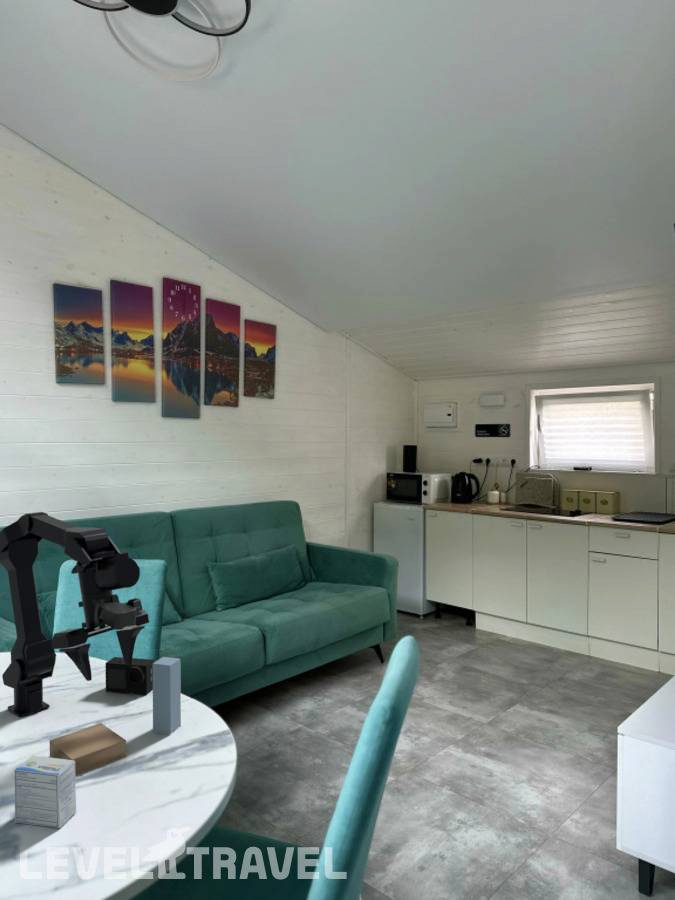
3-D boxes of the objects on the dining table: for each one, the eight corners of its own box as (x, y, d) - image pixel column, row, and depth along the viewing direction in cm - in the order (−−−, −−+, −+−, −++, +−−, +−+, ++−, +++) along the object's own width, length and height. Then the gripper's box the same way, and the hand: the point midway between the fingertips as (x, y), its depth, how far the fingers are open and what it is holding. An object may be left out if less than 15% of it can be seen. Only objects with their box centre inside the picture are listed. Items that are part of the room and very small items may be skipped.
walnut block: (49, 756, 118) (49, 740, 118) (101, 737, 126) (101, 723, 126) (72, 776, 112) (72, 759, 111) (125, 755, 119) (125, 740, 119)
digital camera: (102, 694, 147) (101, 664, 147) (114, 685, 152) (114, 656, 152) (144, 697, 145) (143, 667, 145) (154, 688, 150) (154, 659, 150)
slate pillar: (152, 732, 128) (152, 663, 128) (163, 723, 132) (163, 656, 132) (170, 734, 127) (170, 665, 127) (180, 726, 131) (180, 658, 131)
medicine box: (77, 813, 101) (76, 759, 101) (59, 830, 97) (59, 774, 96) (33, 807, 102) (32, 754, 102) (13, 823, 98) (13, 768, 98)
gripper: (80, 599, 113) (94, 687, 112) (160, 579, 129) (173, 656, 128) (44, 605, 119) (56, 689, 118) (125, 585, 135) (137, 659, 133)
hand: (109, 672), depth 124 cm, fingers open, 9 cm apart
